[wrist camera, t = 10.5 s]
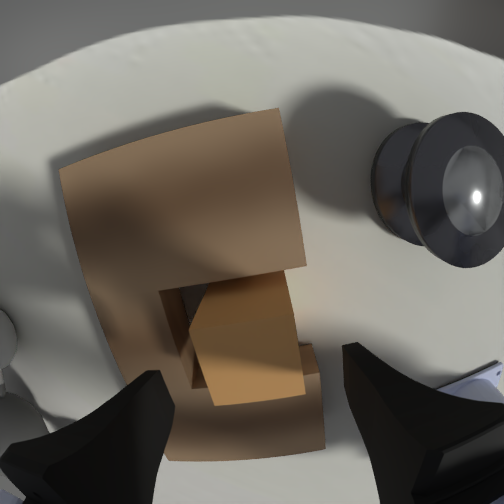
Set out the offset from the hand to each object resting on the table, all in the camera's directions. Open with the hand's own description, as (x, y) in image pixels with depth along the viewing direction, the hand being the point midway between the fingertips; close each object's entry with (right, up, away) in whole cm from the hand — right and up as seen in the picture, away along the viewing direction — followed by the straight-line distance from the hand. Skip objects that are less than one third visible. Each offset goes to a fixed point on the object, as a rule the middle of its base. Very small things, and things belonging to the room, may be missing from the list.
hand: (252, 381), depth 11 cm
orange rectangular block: (0, +2, +6) cm, 7 cm away
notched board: (-2, +1, +7) cm, 7 cm away
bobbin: (+10, +9, +4) cm, 14 cm away
